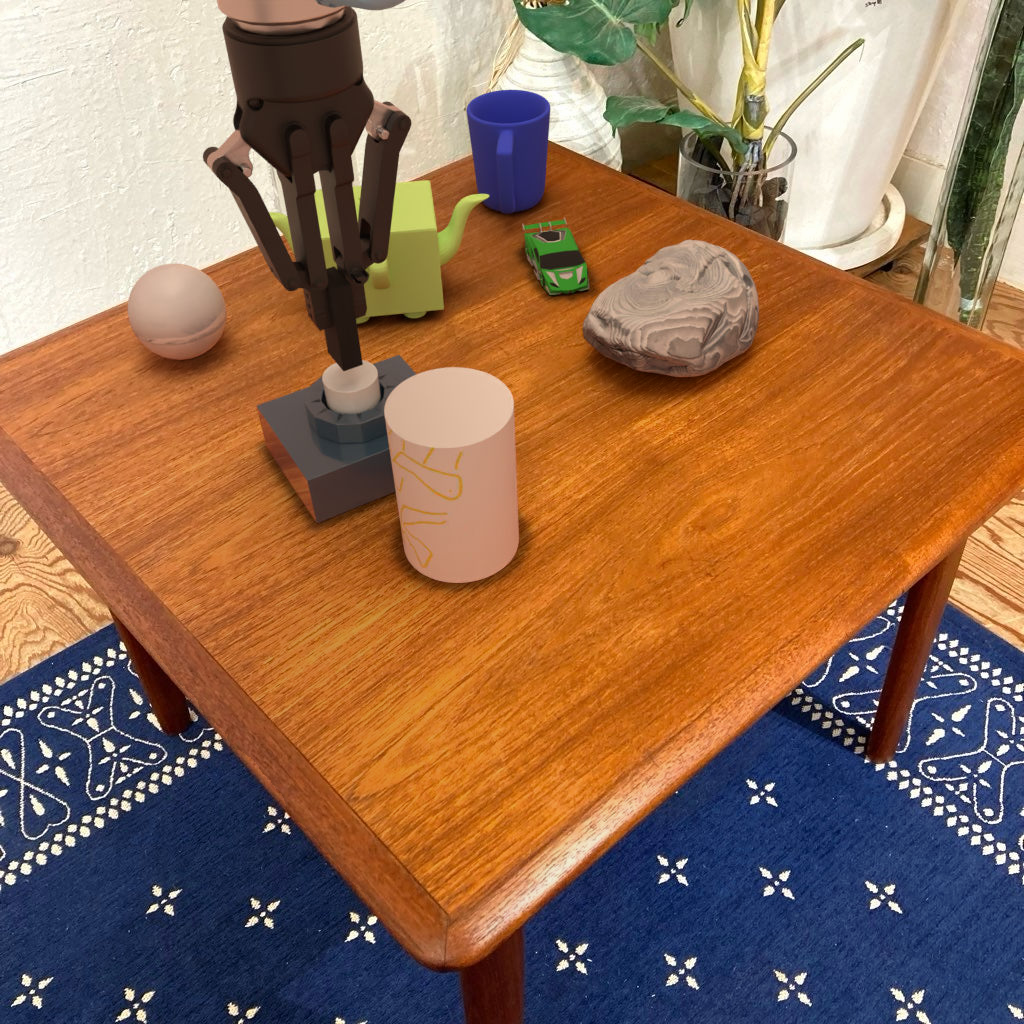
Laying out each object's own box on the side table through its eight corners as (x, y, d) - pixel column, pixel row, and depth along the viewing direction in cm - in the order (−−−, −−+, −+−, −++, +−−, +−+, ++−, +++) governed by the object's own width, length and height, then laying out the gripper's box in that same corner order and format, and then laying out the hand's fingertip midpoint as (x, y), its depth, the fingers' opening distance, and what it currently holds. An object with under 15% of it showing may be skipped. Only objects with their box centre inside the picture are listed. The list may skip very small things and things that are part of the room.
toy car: (595, 291, 98) (595, 269, 96) (545, 299, 97) (544, 277, 96) (567, 237, 105) (567, 216, 103) (520, 244, 104) (519, 223, 103)
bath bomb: (126, 349, 94) (99, 269, 88) (207, 314, 97) (186, 235, 92) (168, 390, 89) (142, 308, 84) (252, 352, 93) (233, 271, 87)
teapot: (274, 309, 97) (250, 202, 90) (368, 245, 105) (353, 141, 98) (406, 361, 91) (392, 249, 84) (495, 288, 99) (490, 180, 92)
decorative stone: (584, 372, 84) (606, 242, 80) (568, 332, 96) (586, 218, 93) (764, 394, 85) (794, 268, 81) (725, 352, 98) (749, 241, 94)
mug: (465, 239, 105) (459, 143, 99) (475, 182, 114) (469, 89, 107) (548, 239, 105) (548, 142, 98) (551, 181, 114) (551, 88, 107)
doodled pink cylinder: (381, 533, 76) (360, 400, 68) (474, 485, 80) (464, 352, 71) (446, 601, 71) (431, 466, 63) (542, 546, 75) (540, 411, 66)
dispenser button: (339, 422, 77) (335, 398, 75) (317, 393, 79) (313, 369, 78) (390, 403, 78) (387, 379, 76) (367, 375, 80) (363, 352, 79)
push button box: (316, 523, 77) (303, 461, 73) (266, 447, 83) (251, 386, 79) (462, 464, 81) (457, 402, 77) (404, 396, 88) (396, 335, 83)
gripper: (366, -31, 64) (404, 306, 81) (153, 14, 60) (239, 361, 76) (423, 5, 60) (451, 355, 76) (196, 56, 55) (278, 417, 71)
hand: (345, 358), depth 76 cm, fingers closed
